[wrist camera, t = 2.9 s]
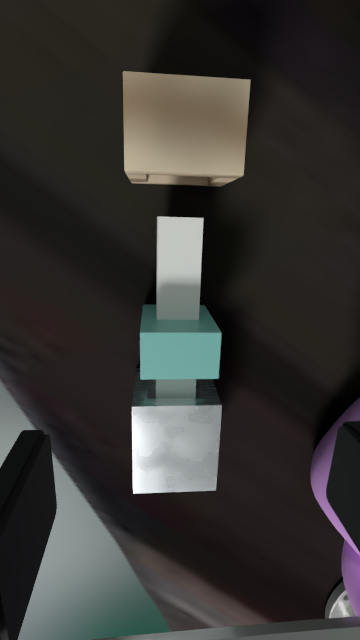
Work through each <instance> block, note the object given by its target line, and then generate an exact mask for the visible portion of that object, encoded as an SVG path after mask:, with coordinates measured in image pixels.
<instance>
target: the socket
mask: <svg viewBox="0 0 360 640" xmlns="http://www.w3.org/2000/svg"><path fill="white" fill-rule="evenodd" d="M250 81H251V80H248V79H233V78H217V77H202V76H187V75H172V74H157V73H142V72H127V71H123V105H124V166H125V172H126V174H127V176H128V178H129V180H130V181H131V183H141V184H167V185H193V186H219V187H221V186H223V185H225V184H227V183H229V182H231V181H233V180H235V179H237V178H239V177H242V176H243V174H244V161H245V147H246V134H247V121H248V108H249V95H250Z"/></svg>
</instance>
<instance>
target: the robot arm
mask: <svg viewBox="0 0 360 640" xmlns="http://www.w3.org/2000/svg"><path fill="white" fill-rule="evenodd" d="M326 497H327V500H328V503H329V504H330V506H331V508H332V509H333V511H334V512H335V514H336V516H337V517H338V519H339V520H340V522H341V524H342V525H343V527H344V528H345V530H346V532H347V533H348V535H349V536H350V538H351V540H352V541H353V543H354V544H355V546H356V547H357V549H358V551H359V552H360V421H346V422H344V423H343V424H342V426H340V427H339V428H338V431H337V436H336V441H335V446H334V452H333V457H332V462H331V467H330V472H329V477H328V482H327V487H326ZM56 503H57V502H56V492H55V483H54V472H53V462H52V452H51V441H50V436H49V435H44V432H43V430H24V431H22V432H21V433H20V435H19V437H18V438H17V440H16V442H15V444H14V445H13V447H12V449H11V450H10V452H9V454H8V456H7V457H6V459H5V461H4V463H3V464H2V466H1V468H0V640H17V639H18V636H19V633H20V629H21V626H22V623H23V620H24V617H25V613H26V610H27V607H28V603H29V600H30V597H31V594H32V591H33V587H34V584H35V580H36V577H37V574H38V571H39V568H40V564H41V561H42V558H43V555H44V551H45V548H46V545H47V542H48V538H49V535H50V532H51V529H52V525H53V522H54V519H55V515H56V508H57V507H56V506H57V504H56ZM325 618H326V619H315V620H303V621H291V622H279V623H268V624H256V625H245V626H233V627H221V628H210V629H199V630H188V631H177V632H167V633H156V634H145V635H134V636H125V637H112V638H102V639H94V640H360V616H356V615H355V613H354V610H353V608H352V605H351V603H350V600H349V598H348V595H347V592H346V588H345V585H344V581H342V582H341V583H340V584H339V585H338V586H337V587H336V588H335V590H334V591H333V592H332V594H331V596H330V597H329V599H328V602H327V605H326V609H325Z"/></svg>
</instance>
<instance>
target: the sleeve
mask: <svg viewBox="0 0 360 640" xmlns="http://www.w3.org/2000/svg"><path fill="white" fill-rule="evenodd" d="M155 388H156V379H148V380H140V368H136V373H135V382H134V391H133V401H132V456H133V494H135V493H161V492H187V491H213V490H216V482H217V468H218V454H219V440H220V426H221V412H222V404H221V401H220V399H219V396H218V393H217V391H216V388H215V385H214V383H213V380H212V379H196V392H195V398H167V399H155Z"/></svg>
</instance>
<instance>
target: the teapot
mask: <svg viewBox="0 0 360 640" xmlns="http://www.w3.org/2000/svg"><path fill="white" fill-rule="evenodd" d="M346 421H360V397H359V398H358V399H357V400H356V401H355V402H354V403H353V404H352V405H351V406H350V407H349V408H348V409H347V410H346V411H345V412H344V413H343V414H342V415H341V416H340V417H339V418H338V419H337V421H336V422H335V423H334V424H333V425H332V426H331V428H330V429H329V430H328V431H327V433H326V434H325V435H324V436H323V438H322V439H321V441H320V442H319V444H318V445H317V447H316V449H315V451H314V453H313V457H312V463H311V486H312V490H313V492H314V495H315V498H316V500H317V501H318V503H319V504H320V506H321V508H322V509H323V511H324V512H325V514H326V515H327V517H328V518H329V520H330V521H331V522H332V524H333V525H334V526H335V528H336V529H337V530H338V531H339V533H340V534H341V535H342V536H343V537H344V539H345V540H344V545H343V550H342V575H343V581H344V585H345V588H346V592H347V595H348V598H349V600H350V603H351V605H352V608H353V610H354V613H355V615H356V616H360V552H359V551H358V549H357V547H356V546H355V544H354V543H353V541H352V540H351V538H350V536H349V535H348V533H347V532H346V530H345V528H344V527H343V525H342V524H341V522H340V520H339V519H338V517H337V516H336V514H335V512H334V511H333V509H332V508H331V506H330V504H329V503H328V500H327V497H326V487H327V482H328V477H329V472H330V467H331V462H332V457H333V452H334V446H335V441H336V436H337V431H338V428H339V427H340V426H342V424H343V423H344V422H346Z"/></svg>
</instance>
